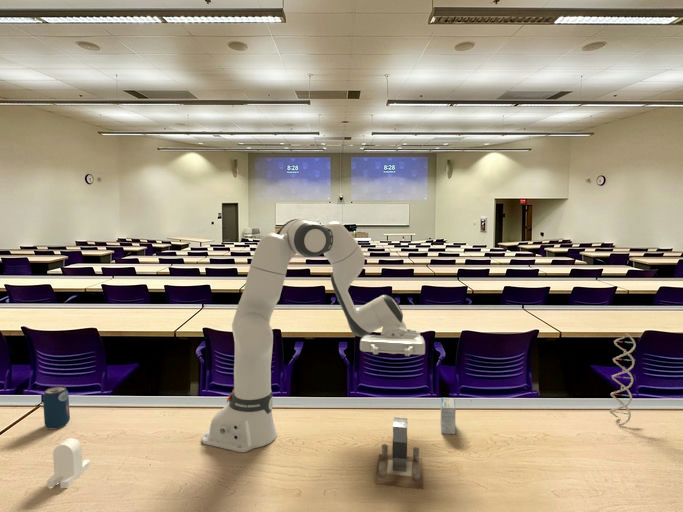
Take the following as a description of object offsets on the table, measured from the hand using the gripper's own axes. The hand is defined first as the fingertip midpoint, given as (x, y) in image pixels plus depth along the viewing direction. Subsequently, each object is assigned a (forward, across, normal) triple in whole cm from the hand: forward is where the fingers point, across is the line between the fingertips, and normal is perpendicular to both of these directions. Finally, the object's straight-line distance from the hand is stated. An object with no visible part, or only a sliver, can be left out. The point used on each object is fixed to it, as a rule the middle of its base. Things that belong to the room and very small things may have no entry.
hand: (391, 352), depth 128 cm
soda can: (+8, -108, +28) cm, 112 cm away
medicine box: (-12, +18, +28) cm, 36 cm away
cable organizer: (+32, -82, +28) cm, 92 cm away
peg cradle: (+15, +3, +28) cm, 32 cm away
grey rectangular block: (+15, +3, +27) cm, 31 cm away
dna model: (-26, +75, +28) cm, 84 cm away
